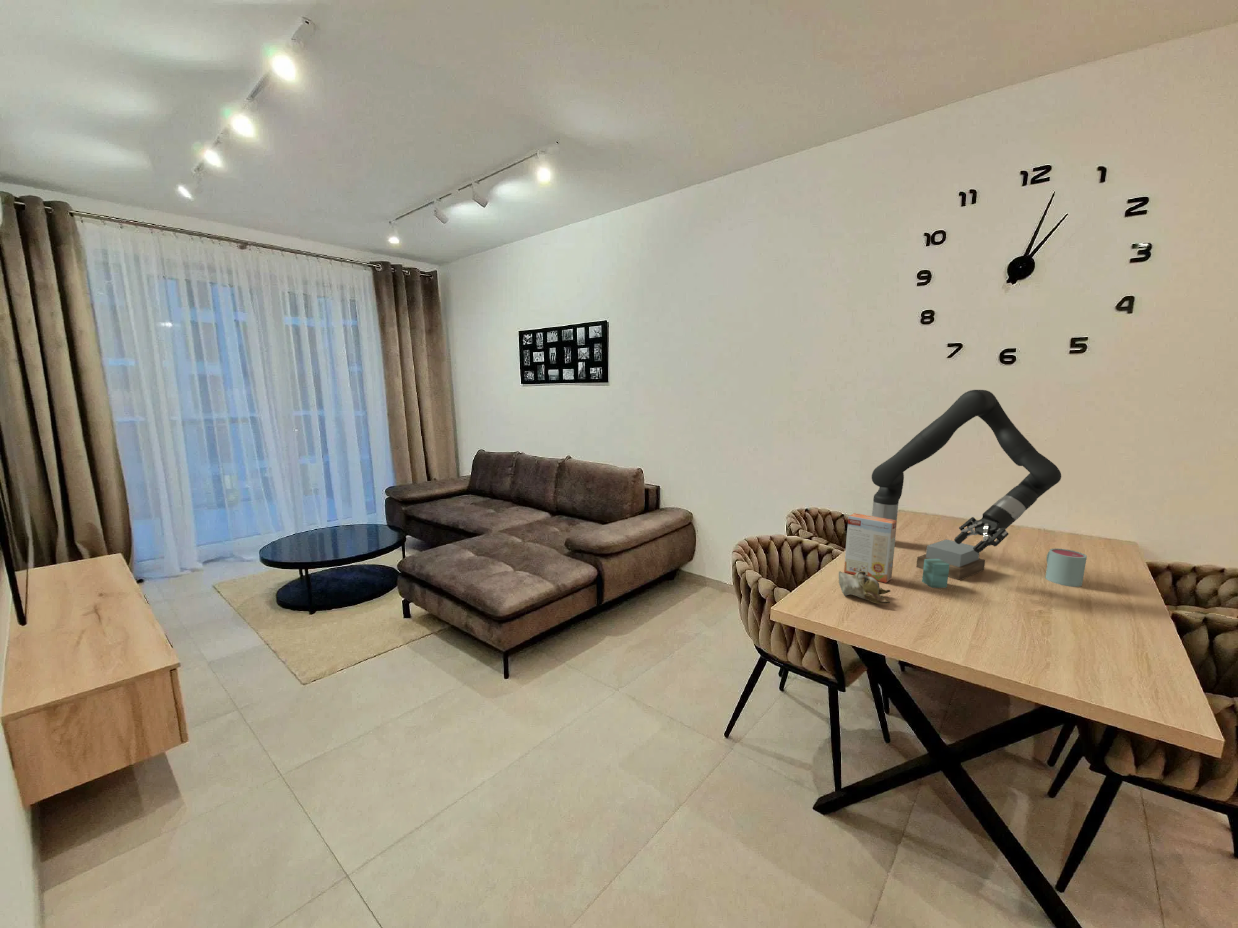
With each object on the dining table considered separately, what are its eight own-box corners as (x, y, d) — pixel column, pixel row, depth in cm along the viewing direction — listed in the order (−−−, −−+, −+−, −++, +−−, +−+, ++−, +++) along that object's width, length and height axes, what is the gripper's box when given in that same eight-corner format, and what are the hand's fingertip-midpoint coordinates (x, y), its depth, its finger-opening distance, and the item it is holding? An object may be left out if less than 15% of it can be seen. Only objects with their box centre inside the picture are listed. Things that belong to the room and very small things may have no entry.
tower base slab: (916, 568, 177) (917, 556, 176) (941, 559, 186) (943, 548, 185) (958, 582, 165) (960, 569, 164) (983, 571, 174) (985, 559, 173)
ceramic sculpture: (841, 561, 158) (893, 572, 151) (837, 585, 160) (889, 598, 152) (837, 572, 149) (893, 585, 142) (833, 598, 151) (888, 612, 143)
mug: (1089, 587, 159) (1094, 558, 158) (1056, 585, 161) (1061, 556, 160) (1060, 572, 173) (1065, 545, 171) (1030, 570, 175) (1035, 543, 173)
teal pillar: (921, 581, 164) (924, 558, 163) (936, 581, 164) (939, 558, 163) (931, 587, 159) (934, 564, 158) (946, 587, 159) (949, 564, 158)
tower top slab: (925, 557, 176) (927, 545, 175) (945, 550, 183) (946, 539, 182) (959, 567, 166) (961, 554, 166) (978, 559, 174) (980, 547, 173)
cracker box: (892, 578, 166) (898, 519, 162) (886, 583, 162) (892, 523, 158) (849, 567, 176) (854, 511, 172) (843, 572, 172) (848, 515, 168)
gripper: (980, 499, 165) (943, 532, 166) (1015, 510, 151) (975, 545, 152) (993, 514, 166) (956, 547, 167) (1029, 526, 152) (989, 561, 153)
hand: (965, 546), depth 160 cm, fingers open, 8 cm apart
